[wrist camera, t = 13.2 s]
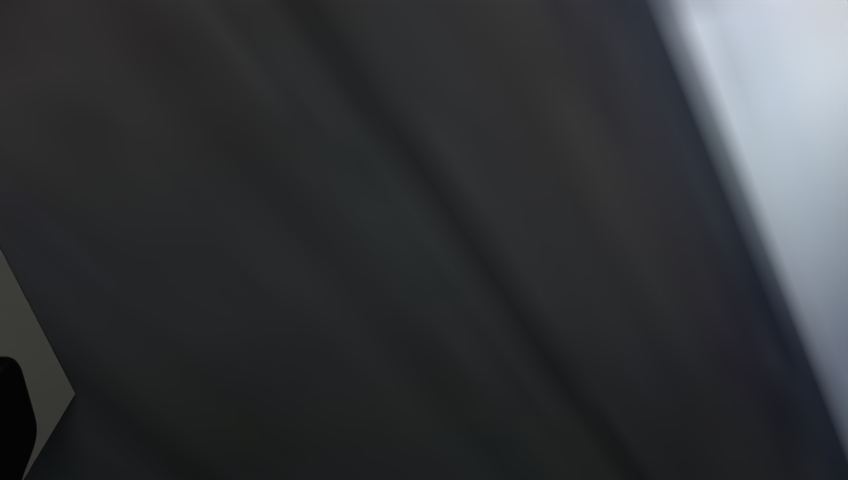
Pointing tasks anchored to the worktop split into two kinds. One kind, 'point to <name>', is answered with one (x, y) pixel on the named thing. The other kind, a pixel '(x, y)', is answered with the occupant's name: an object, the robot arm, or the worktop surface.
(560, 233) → the worktop surface
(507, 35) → the worktop surface
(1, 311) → the socket block
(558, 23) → the worktop surface
